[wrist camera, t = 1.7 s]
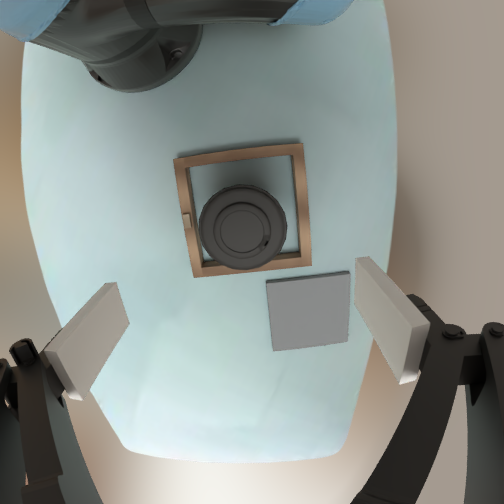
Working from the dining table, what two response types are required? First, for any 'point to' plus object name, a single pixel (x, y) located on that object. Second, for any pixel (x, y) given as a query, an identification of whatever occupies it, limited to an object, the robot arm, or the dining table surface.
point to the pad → (309, 310)
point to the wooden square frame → (184, 163)
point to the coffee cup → (242, 227)
